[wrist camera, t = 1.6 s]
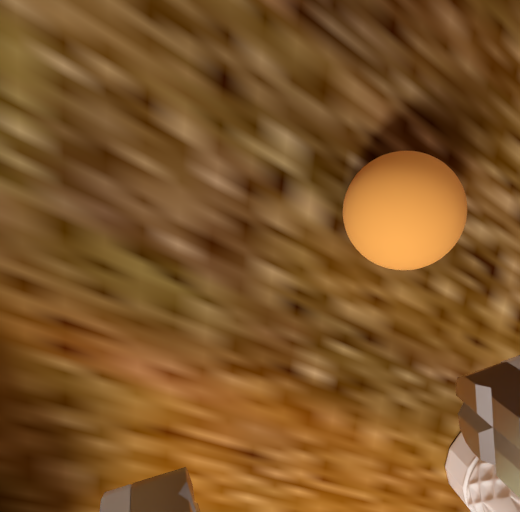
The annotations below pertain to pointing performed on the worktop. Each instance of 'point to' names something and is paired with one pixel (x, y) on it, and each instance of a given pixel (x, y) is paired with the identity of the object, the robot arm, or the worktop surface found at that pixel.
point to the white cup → (478, 481)
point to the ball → (405, 210)
